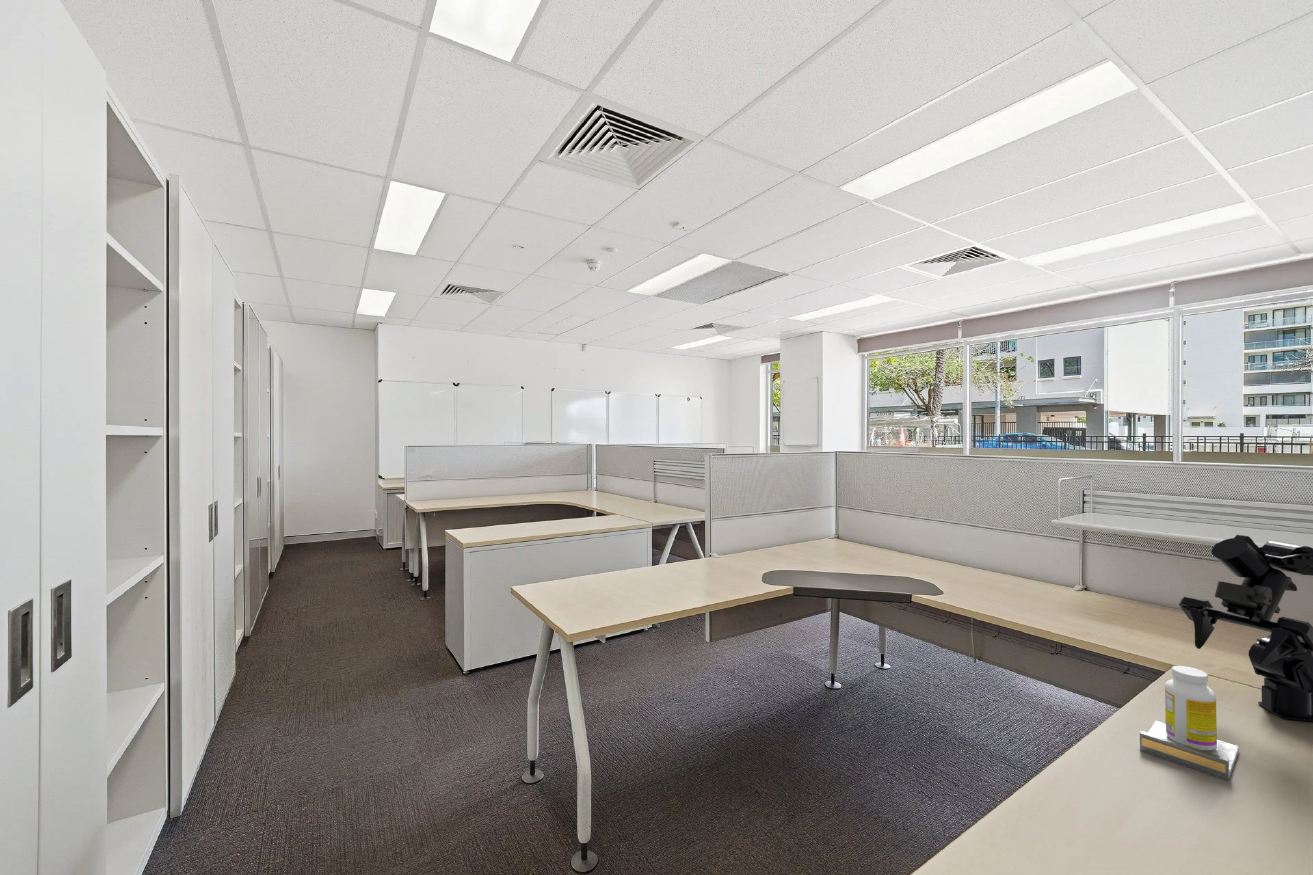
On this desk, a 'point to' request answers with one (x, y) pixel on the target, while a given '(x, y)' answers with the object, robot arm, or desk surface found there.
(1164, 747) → the grey metal slab
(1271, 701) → the robot arm
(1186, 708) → the supplement bottle
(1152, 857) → the desk surface
